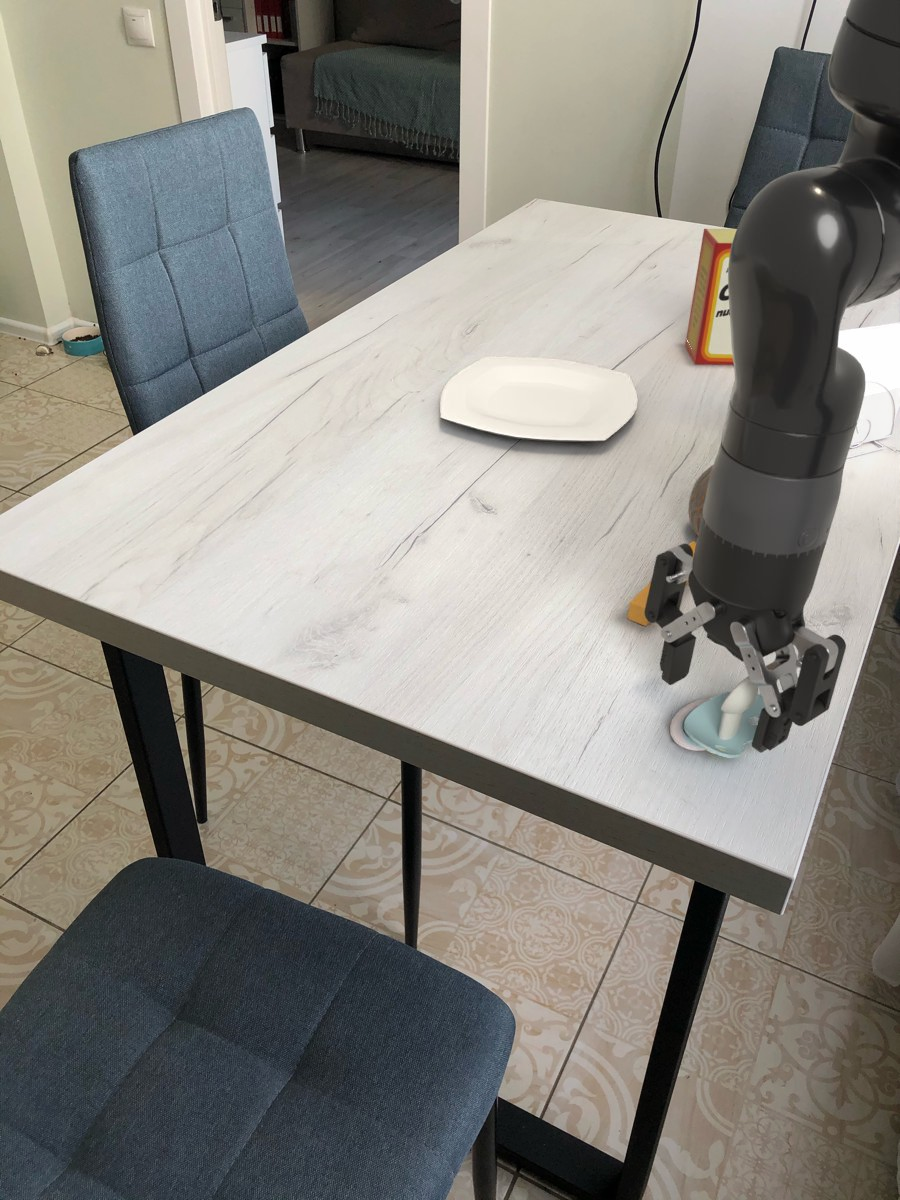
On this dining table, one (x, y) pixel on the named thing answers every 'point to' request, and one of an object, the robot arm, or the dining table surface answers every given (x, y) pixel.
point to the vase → (698, 499)
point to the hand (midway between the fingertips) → (717, 710)
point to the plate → (539, 399)
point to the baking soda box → (711, 302)
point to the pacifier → (719, 721)
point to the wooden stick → (644, 601)
